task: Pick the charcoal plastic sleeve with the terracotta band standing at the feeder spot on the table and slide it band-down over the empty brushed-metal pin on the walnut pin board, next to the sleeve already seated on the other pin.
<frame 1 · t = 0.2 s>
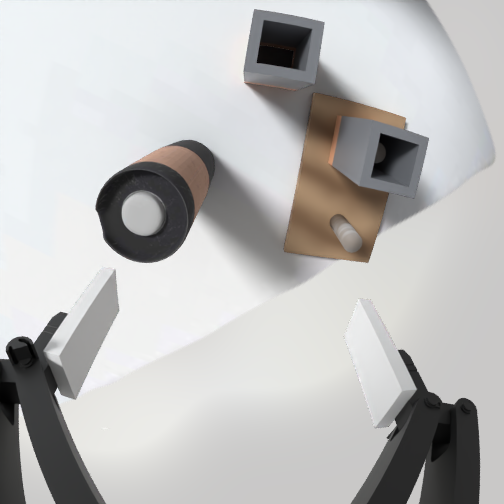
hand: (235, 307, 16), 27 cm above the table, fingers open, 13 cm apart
travel mug: (188, 165, 40), on the table
banded sleeve: (273, 63, 34), on the table
seated sleeve: (355, 144, 37), point 1 cm above the table, touching pinboard
pinboard: (344, 182, 41), on the table
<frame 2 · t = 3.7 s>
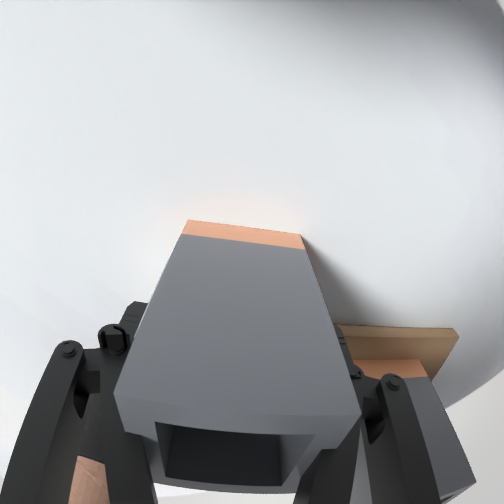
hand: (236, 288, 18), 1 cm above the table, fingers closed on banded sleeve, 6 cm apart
travel mug: (123, 397, 25), on the table
banded sleeve: (237, 275, 19), on the table, touching gripper
seated sleeve: (371, 386, 23), point 1 cm above the table, touching pinboard
pinboard: (345, 413, 26), on the table
when the fingers open (4 cm above the table, at t = 9.5 s): banded sleeve drops 1 cm, resting on pinboard.
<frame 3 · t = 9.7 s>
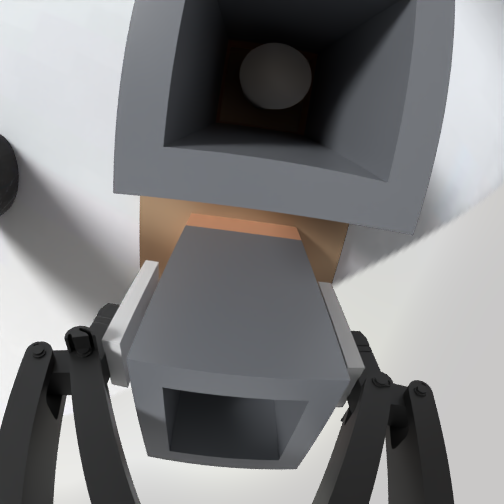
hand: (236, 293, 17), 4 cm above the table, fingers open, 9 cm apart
banded sleeve: (237, 266, 20), point 1 cm above the table, touching pinboard
seated sleeve: (264, 88, 15), point 1 cm above the table, touching pinboard
pinboard: (249, 177, 19), on the table
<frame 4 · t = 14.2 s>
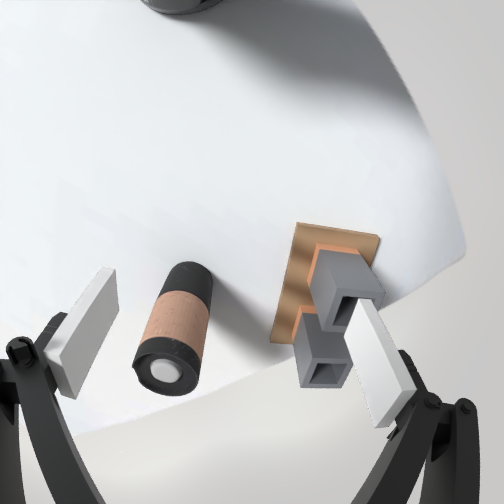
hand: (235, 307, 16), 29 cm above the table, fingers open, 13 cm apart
travel mug: (190, 280, 49), on the table
banded sleeve: (313, 321, 51), point 1 cm above the table, touching pinboard
seated sleeve: (331, 264, 47), point 1 cm above the table, touching pinboard
pinboard: (321, 290, 50), on the table
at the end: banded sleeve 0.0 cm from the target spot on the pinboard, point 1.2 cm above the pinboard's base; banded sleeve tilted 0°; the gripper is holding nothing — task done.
